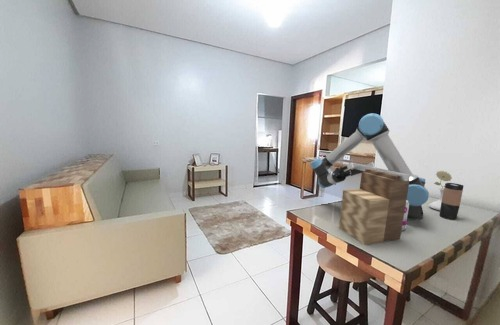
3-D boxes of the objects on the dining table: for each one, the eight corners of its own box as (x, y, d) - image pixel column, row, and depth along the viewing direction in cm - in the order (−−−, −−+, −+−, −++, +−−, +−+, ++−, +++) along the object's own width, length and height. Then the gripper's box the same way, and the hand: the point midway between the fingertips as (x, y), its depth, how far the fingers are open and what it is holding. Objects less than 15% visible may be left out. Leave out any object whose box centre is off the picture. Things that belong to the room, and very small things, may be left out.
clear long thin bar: (348, 167, 113) (349, 162, 113) (352, 167, 114) (353, 162, 114) (404, 180, 85) (404, 175, 85) (409, 180, 86) (410, 174, 86)
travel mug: (460, 221, 116) (467, 186, 112) (444, 219, 117) (451, 185, 114) (450, 215, 123) (457, 183, 120) (435, 214, 124) (441, 182, 121)
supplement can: (405, 233, 99) (410, 203, 97) (385, 228, 103) (389, 199, 101) (404, 226, 106) (408, 199, 104) (385, 222, 110) (389, 195, 108)
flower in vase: (457, 213, 127) (466, 174, 122) (439, 212, 127) (446, 173, 123) (438, 205, 139) (445, 169, 135) (421, 205, 140) (428, 169, 136)
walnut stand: (338, 227, 103) (345, 169, 98) (370, 223, 108) (377, 168, 104) (365, 244, 88) (374, 177, 83) (399, 239, 93) (410, 175, 89)
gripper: (354, 181, 128) (384, 171, 109) (320, 183, 120) (345, 172, 101) (351, 170, 130) (379, 157, 111) (317, 171, 123) (341, 158, 104)
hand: (363, 164), depth 106 cm, fingers open, 13 cm apart
